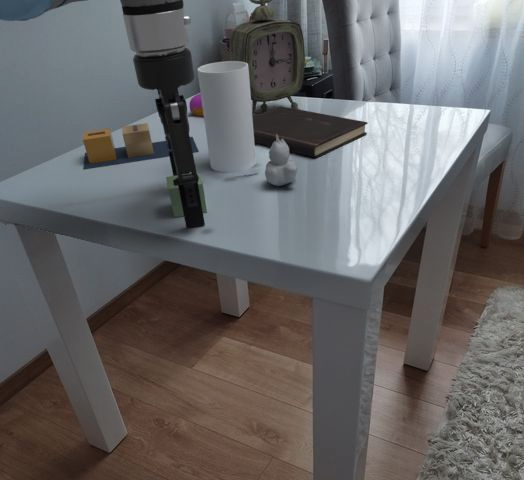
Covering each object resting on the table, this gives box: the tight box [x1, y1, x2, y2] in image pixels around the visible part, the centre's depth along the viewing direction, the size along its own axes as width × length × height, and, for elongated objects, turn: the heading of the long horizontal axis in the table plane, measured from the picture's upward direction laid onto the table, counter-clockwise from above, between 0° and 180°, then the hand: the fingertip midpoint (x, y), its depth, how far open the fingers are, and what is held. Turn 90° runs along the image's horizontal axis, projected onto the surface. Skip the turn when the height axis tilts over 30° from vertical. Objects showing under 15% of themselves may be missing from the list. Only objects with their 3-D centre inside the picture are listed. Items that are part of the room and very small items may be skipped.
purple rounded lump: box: [189, 93, 204, 117], centre depth 117 cm, size 10×10×5 cm
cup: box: [197, 60, 257, 173], centre depth 86 cm, size 8×8×16 cm
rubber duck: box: [264, 134, 298, 187], centre depth 81 cm, size 5×7×8 cm
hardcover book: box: [252, 105, 369, 159], centre depth 101 cm, size 16×23×2 cm
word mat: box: [82, 136, 200, 171], centre depth 100 cm, size 22×10×1 cm, turn 103°
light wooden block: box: [121, 122, 154, 158], centre depth 98 cm, size 5×5×5 cm
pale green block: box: [165, 171, 208, 218], centre depth 77 cm, size 5×5×5 cm
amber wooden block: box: [82, 128, 116, 164], centre depth 97 cm, size 5×5×5 cm
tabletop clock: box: [228, 0, 306, 117], centre depth 108 cm, size 14×9×25 cm, turn 118°
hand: (189, 207), depth 79 cm, fingers open, 13 cm apart
